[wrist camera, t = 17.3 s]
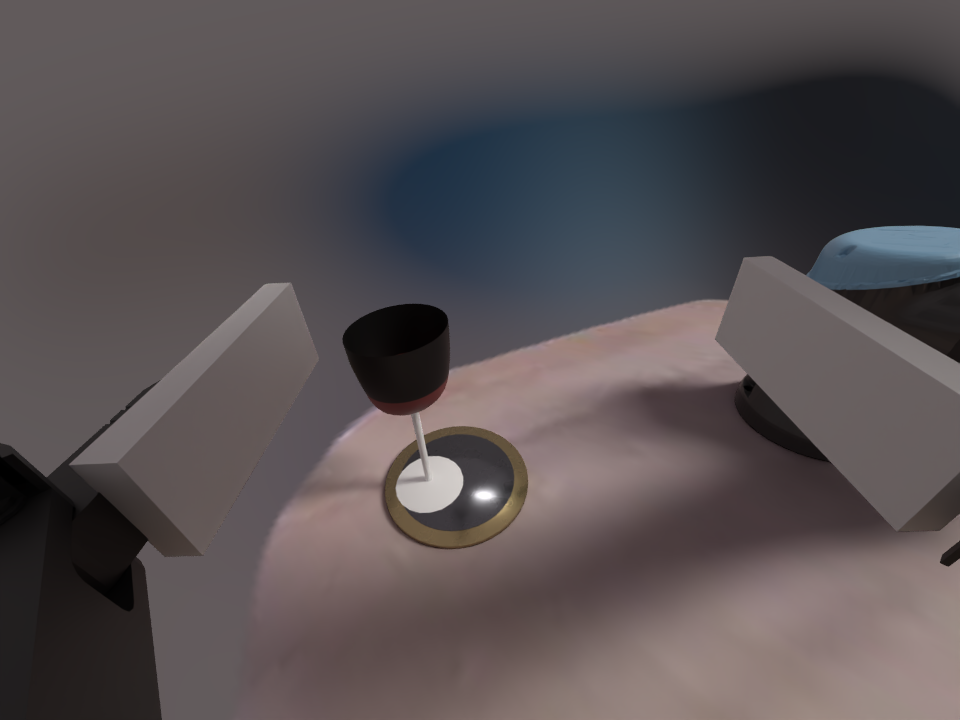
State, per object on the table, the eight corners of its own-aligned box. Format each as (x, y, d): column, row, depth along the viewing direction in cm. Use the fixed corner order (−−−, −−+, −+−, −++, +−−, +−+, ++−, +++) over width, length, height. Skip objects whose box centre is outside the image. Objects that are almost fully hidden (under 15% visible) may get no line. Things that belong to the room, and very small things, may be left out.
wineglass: (377, 485, 42) (324, 332, 31) (437, 442, 47) (411, 295, 36) (420, 532, 38) (376, 371, 26) (482, 479, 42) (468, 322, 31)
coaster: (494, 415, 52) (494, 412, 51) (554, 514, 39) (554, 510, 39) (376, 451, 47) (375, 448, 47) (401, 574, 35) (399, 571, 35)
